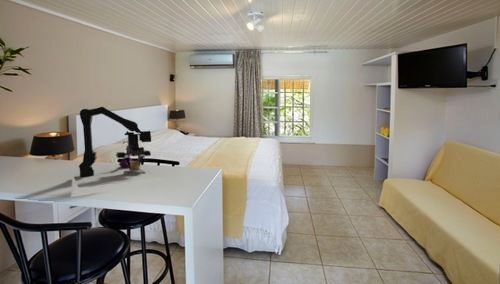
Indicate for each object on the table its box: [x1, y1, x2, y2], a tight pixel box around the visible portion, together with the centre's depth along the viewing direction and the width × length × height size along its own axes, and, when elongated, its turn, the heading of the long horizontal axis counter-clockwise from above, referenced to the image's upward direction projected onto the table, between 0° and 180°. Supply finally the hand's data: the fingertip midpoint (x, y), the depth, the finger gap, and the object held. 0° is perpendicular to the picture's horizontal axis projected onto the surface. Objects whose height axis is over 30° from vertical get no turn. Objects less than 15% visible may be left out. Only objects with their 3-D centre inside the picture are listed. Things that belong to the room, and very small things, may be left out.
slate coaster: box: [123, 169, 146, 176], centre depth 178 cm, size 10×10×1 cm
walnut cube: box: [128, 160, 141, 171], centre depth 178 cm, size 5×5×5 cm
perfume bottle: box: [118, 140, 134, 169], centre depth 193 cm, size 8×8×18 cm
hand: (134, 168), depth 178 cm, fingers closed on walnut cube, 5 cm apart
